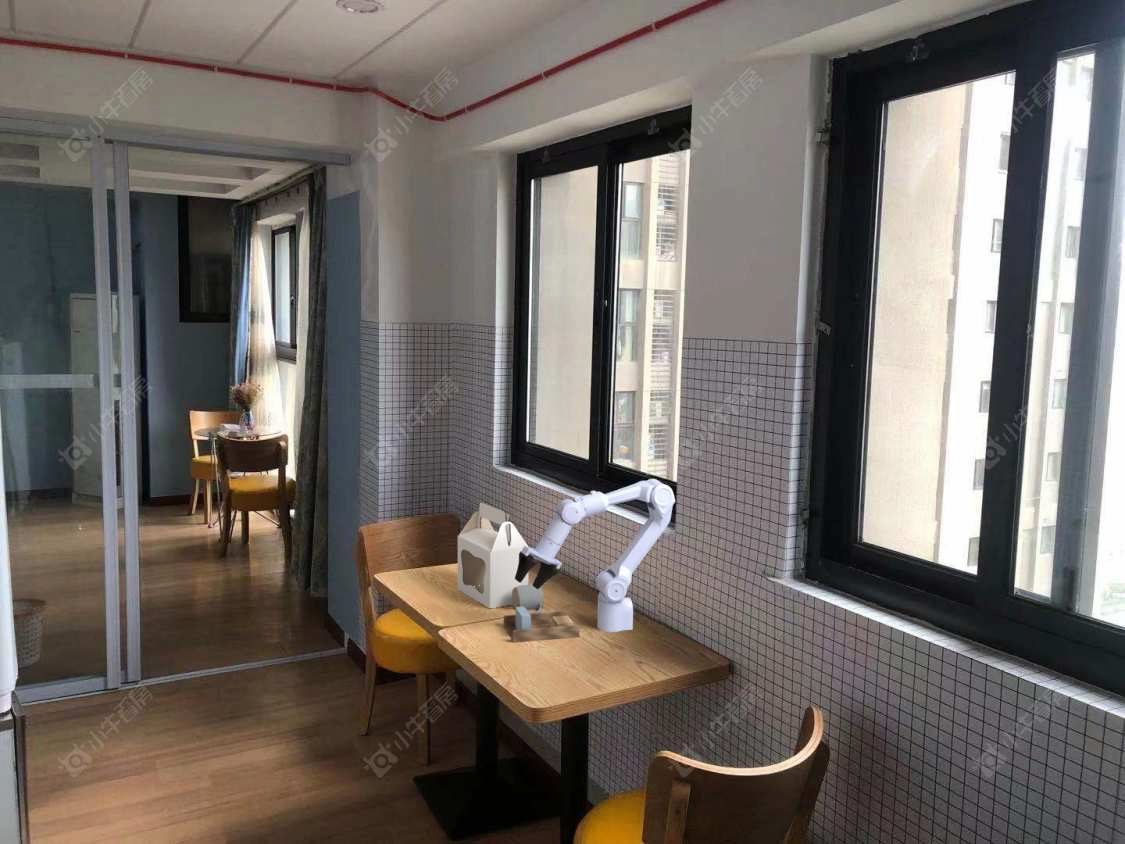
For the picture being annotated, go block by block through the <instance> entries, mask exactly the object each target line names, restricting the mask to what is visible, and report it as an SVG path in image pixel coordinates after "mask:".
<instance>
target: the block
mask: <svg viewBox="0 0 1125 844" xmlns="http://www.w3.org/2000/svg"><path fill="white" fill-rule="evenodd" d="M528 612H529V611H528V610H526V608H525V607H516V609H515V615H516V620H515V628H516V630H523V629H531V615H530V614H529V613H528Z"/></svg>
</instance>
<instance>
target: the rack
mask: <svg viewBox="0 0 1125 844" xmlns="http://www.w3.org/2000/svg"><path fill="white" fill-rule="evenodd" d="M530 615H531V629H523V630H516V628H515V620H516V614H507V615H506V614H504V615H503V628H504V629H505V631H506V633H507V634H508V636H509V638H510V639H511V641H512V643H514V644H515V643H516V644H517V643H526V642H528V643H529V642H538V641H539V642H541V641H552V640H564V639H575V638H580V630H581V629H580V627H581V626H580V625H579V624H575V625H573V626H560V627H550V621H552V617H554V616H568V617H569V615H568V610H561V611H560V610H559V611H547V612H545V611H544V612H540V613H530Z"/></svg>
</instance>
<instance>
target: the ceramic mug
mask: <svg viewBox="0 0 1125 844" xmlns="http://www.w3.org/2000/svg"><path fill="white" fill-rule="evenodd" d="M544 600H545V599H544V591H543V587H542V586H541V587H540V588H539V589H536V588H535V587H534V586H533V583H528V585H521V586H517V587H515V588H513V590H512V602H513V605H512V606H513V608H514V609H515V610H516V607H525V608H526V610H527V611H528V610H529V611H530V610H536V611H535V612H534V611H532V612H529V611H528V613H529V614H530V613H542V609H543V608H544V605H545V604H544V603H545V602H544Z"/></svg>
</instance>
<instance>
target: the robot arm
mask: <svg viewBox="0 0 1125 844" xmlns="http://www.w3.org/2000/svg"><path fill="white" fill-rule="evenodd" d="M633 500H638V501H642V502H645V503H646V505H647V509H648V513H649V517H648V518H647V520H646V521H645V522H644V523H643V525H642V527H641V528H640V529H639V530H638V532H637V533H636V535H635V536H634V537H633V539H632V540H631V542H630V543H629V544H628V546H627V547H626V548H625V549H624V551H623V552H622V553H621V555H620V557H619V558H618V559H617V561H616V562H614V563H612V564H610V565H608V567H607V568H606V569H605V570H604V571H602V572H600V573H599V574H598V575H597V577H596V579H595V585H596V588H597V590H598V591H599V593H598V596H597V621H596V622H597V626H596V627H597V629H598V630H599V631H602V632H606V633H607V632H608V633H616V632H620V631H631V630H633V629H634V627H633V626H634V605H633V601H632V599H631V598H630V597H625V596H627V592H628V588H629V586H630V584H632V575H633V573H634V572H635V570H636V569H637V567H639V565H640V564H641V562H642V561H643V560H644V558H645V557H646V555H647V553H649V551H650V550H651V549H652V547H653V546H654V545H655V543H656V542H657V540H658V539H659V538H660V536H661V535H662V534H663V532H664V531H665V529H666V528H667V527H668V526H669V523H670V522H671V518H672V513H673V512H672V511H673V506H674V504H675V503H676V499H675V495H674V492H673V489H672V488H671V487H670V486H669V485H667V484H664V483H662V482H661V481H659V480H657V479H656V478H650V479H648V480H640V481H638V482H636V483H633V484H630V485H628V486H625V487H621V488H619V489H617V490H616V489H615V490H614V491H613V490H612V491H610V492H607V493H603V492H601V491H596V490H591V491H590V492H589V494H585V495H581V496H573V499H569V498H565V499H562V500H561V501H560V502H559V503H557V504H556V506H555V514H554V516H553V518H552V520H551V521H550V522H549V524H548V526H547V528H546V529H545V531H544V533H543V534H542V536H541V538H540V540H539V541H538V543H537V545H536V546H535V547H534V546H533V547H530V546H529V547H527V546H524V548H523V549H522V551H520V553H519V564H518V569H517V572H516V576H515V580H517V581H518V582H520V583H521V582H522V580H523V579H524V578H525V576H526V575H527V573H528V572H530V571H531V569H533V568H534V567H535V566H536V565H537V562H536V561H534V560H537V561H539V562H541V563H540V567H539V571H538V572H537V574H536V576H535V578H534V581H533V583H532V584H533V586H534V587H535V588H536V589H539V588H540V587H542V586H544V585H545V583H546V582H548V581H549V580H550V579H552V578H553V577H555V576H556V575H558V573H559V572H560V571H559V569H560V568H561V566H562V565H563V562H561V561H560V560H559V559H556V556H557V554H558V552H559V551H560V549H561V547H562V546H563V544H564V542H565V540H566V539H567V536H568V535H569V534H570V532H571V529H572V528H573V526H574V525H575V524H578V523H580V521H581V520H582V519H585V518H588V517H591V516H595V515H598V514H602V513H605V512H606V511H607V509H608V508H609V507H610V506H614V505H617V504H621V503H626V502H630V501H633Z"/></svg>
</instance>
